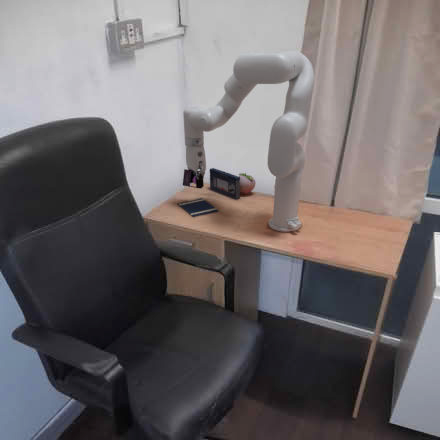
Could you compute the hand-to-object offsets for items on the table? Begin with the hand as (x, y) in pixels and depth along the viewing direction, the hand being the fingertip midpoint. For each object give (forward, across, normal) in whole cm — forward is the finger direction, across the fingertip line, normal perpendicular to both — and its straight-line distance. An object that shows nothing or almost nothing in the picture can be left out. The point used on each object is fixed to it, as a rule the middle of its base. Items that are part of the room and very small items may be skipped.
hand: (196, 184), depth 176 cm
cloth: (+10, 0, 0) cm, 10 cm away
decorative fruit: (+10, +3, -26) cm, 28 cm away
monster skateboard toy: (+1, +1, 0) cm, 2 cm away
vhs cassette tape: (+10, +8, -18) cm, 22 cm away
